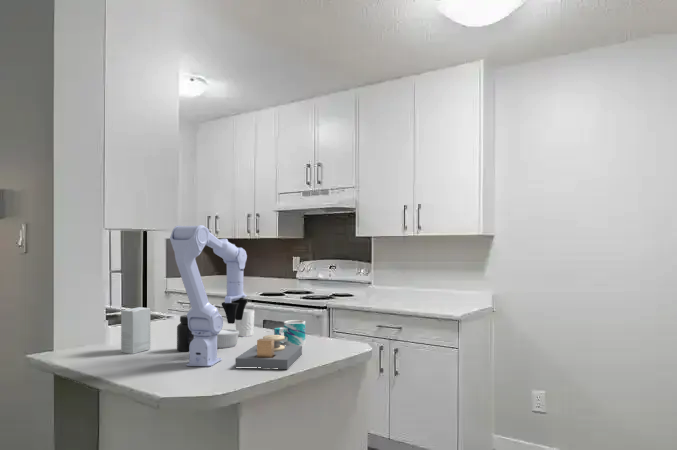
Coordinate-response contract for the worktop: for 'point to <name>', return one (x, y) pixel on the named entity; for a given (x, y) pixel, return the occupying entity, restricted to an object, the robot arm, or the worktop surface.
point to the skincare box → (135, 330)
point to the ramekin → (227, 338)
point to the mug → (292, 333)
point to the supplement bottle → (184, 335)
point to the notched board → (281, 359)
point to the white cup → (246, 323)
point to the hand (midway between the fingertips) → (235, 321)
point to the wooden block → (265, 348)
